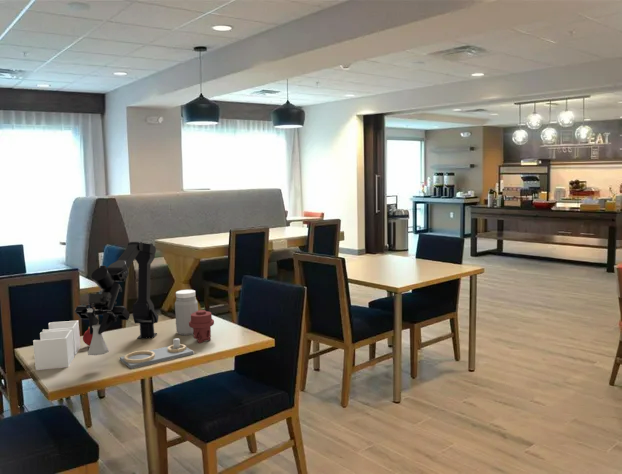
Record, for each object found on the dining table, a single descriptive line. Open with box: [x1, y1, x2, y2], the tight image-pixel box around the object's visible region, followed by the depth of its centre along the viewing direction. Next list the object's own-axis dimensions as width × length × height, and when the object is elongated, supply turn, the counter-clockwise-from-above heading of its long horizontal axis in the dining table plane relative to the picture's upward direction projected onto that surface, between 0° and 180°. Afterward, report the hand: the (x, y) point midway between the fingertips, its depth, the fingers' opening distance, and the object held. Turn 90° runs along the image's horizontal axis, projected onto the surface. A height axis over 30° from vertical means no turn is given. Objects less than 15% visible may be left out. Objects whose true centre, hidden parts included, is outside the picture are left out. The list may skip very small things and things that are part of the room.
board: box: [119, 338, 194, 370], centre depth 212 cm, size 24×12×5 cm, turn 127°
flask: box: [87, 323, 110, 356], centre depth 200 cm, size 7×7×10 cm
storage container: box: [32, 319, 81, 371], centre depth 214 cm, size 25×11×11 cm, turn 13°
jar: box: [174, 289, 199, 336], centre depth 242 cm, size 10×10×18 cm
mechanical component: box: [189, 309, 215, 344], centre depth 230 cm, size 12×10×10 cm
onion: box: [82, 327, 93, 347], centre depth 227 cm, size 6×6×8 cm
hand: (94, 333), depth 198 cm, fingers closed on flask, 3 cm apart
